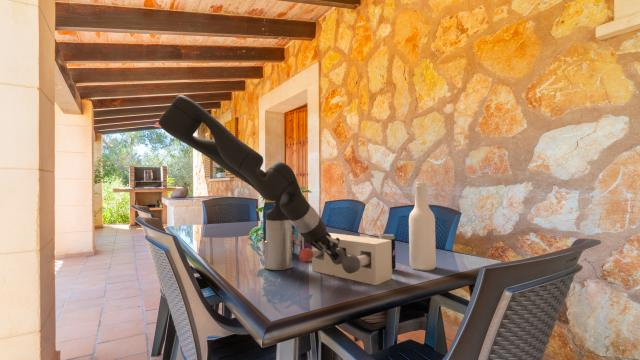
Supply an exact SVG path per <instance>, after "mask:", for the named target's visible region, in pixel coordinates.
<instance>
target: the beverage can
mask: <svg viewBox="0 0 640 360" xmlns="http://www.w3.org/2000/svg"><path fill="white" fill-rule="evenodd" d="M377 239H386V240H391V248H392V272H393V271H394V270H395V269H396V265H397V264H396V237H395V234H392V233H382V234H381V233H380V234H379V236H378V238H377Z"/></svg>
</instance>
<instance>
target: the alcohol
mask: <svg viewBox="0 0 640 360" xmlns="http://www.w3.org/2000/svg"><path fill="white" fill-rule="evenodd" d="M414 184H415V192H414V193H415V195H414V207H413V209H412V210H411V211H410V212H409V217H408V244H409V245H408V247H409V248H408V250H409V256H408V258H409V259H408V260H409V266H410V267H411V269H412V270H416V271H422V272H424V271H432V270H434V269H435V268H436V266H437V265H436V264H437V262H436V261H437V259H436V255H437V254H436V217H435V214H434V212H433V211H432V210H431V209H430V205H429V198H428V197H429V196H428V185H427V184H428V182H425V181H423V182H422V181H416V182H415V183H414Z"/></svg>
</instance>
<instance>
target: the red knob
mask: <svg viewBox="0 0 640 360" xmlns="http://www.w3.org/2000/svg"><path fill="white" fill-rule="evenodd" d="M323 254H324V252H323V251H319V250H318V249H312V250H311V249H310V248H305V249H301V250H299V252H298V257H299V259H300V261H302V263H303V262H310V261H309V260H311V259H312V257H315V256H319V255H323Z"/></svg>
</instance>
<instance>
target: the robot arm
mask: <svg viewBox="0 0 640 360" xmlns="http://www.w3.org/2000/svg"><path fill="white" fill-rule="evenodd" d="M202 124H204V125H205V126H206V127H207V128H208V130H209V131H210V133H211V136H212V137H213V139H208V138H207V139H206V138H202V137H198V136H196V135H195V133H196V132H197V130H199V128H200V127H201V125H202ZM158 125H159V127H160V128H161V129H162V130H163V131H164V132H166V134H169V135H170V136H172V137H173V138H175V139H177V140H178V141H179V142H182V143H183V144H185V145H187V146H189V147H190V148H192V149H193V150H195V151H197V152H199V153H200V154H202V155H204V156H205V157H207V158H208V159H209V160H211V161H213V162H214V163H215V164H216V165H218V166H219V167H221V168H223V170H225V171H227V172H228V173H230V174H231V175H234V176H235V177H237V178H238V179H239V180H240V181H243V182H244V183H246V184H247V185H249V186H250V187H252V189H254V190H255V191H256V192H257V193H258V194H259V195H260V196H261V197H262V198H263V199H264V200H265V199H266V200H268V201H275V207H274V208H273V209H272V210H270V211H268V212H267V213H266V241H265V242H264V250H263V255H264V256H263V257H264V258H263V261H264V262H263V263H264V264H263V265H264V266H263V267H264V269H267V270H270V271H284V270H289V269H291V268H293V254H292V224H293V226H294V229H295V230H297V232H298V233H299V235H300V234H301V235H302V237H303V238H304V239H305V241H306V242H307V243H308V244H310V245H312V246H313V247H315V248H316V249H318V250H319V251H323V252H324V253H327V254H328V256H329V257H330V258H331V259H332V260H336V259H337V257H338V253H337V252H336V249H337V248H338V245H339V241H340V239H339V238H336V239H333V238H332V237H331V235H330V234H329V233H330V232H328V231H327V224H326V223H325V222H324V220H323V219H322V217H321V216H320V215H319V213H318V212H317V210H315V208H314V207H313V206H312V204H310V203H309V202H308V200H307V199H306V197H305V196H304V195H303V194H302V191H301V190H302V189H301V188H300V185H299V182H298V179H297V177H296V174H295V172H294V171H293V169H292V168H291V166H290V165H288V164H287V163H284V162H282V161H277V162H274V163H273V164H272V165H271V166H270V167H269V168H268V169H267V170H266V172H265V171H264V170H263V169H261V168H262V166H263V164H264V157H263V156H262V155H261V153H259V152H257V151H256V150H254V149H253V148H252V147H251V146H249V145H247V144H246V143H244V142H243V141H242V140H240V139H239V138H238V137H237V136H235V135H234V134H233V133H232V132H231V131H230V130H228V128H227V127H225V125H224V124H223V123H221V122H220V121H218V119H216V118H215V117H214V116H213V115H212V114H210V113H209V112H208V111H207V110H206V109H205V108H203V107H202V106H201V105H200V104H199V103H197V102H196V101H194V100H193V99H191V98H189V97H188V96H185V95H182V94H179V95H177V96H176V97H175V98H174V100H172V102H171V104H169V106H168V108H166V110H165V111H164V112H163V114H162V115H161V116H160V118H159V119H158Z"/></svg>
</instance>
